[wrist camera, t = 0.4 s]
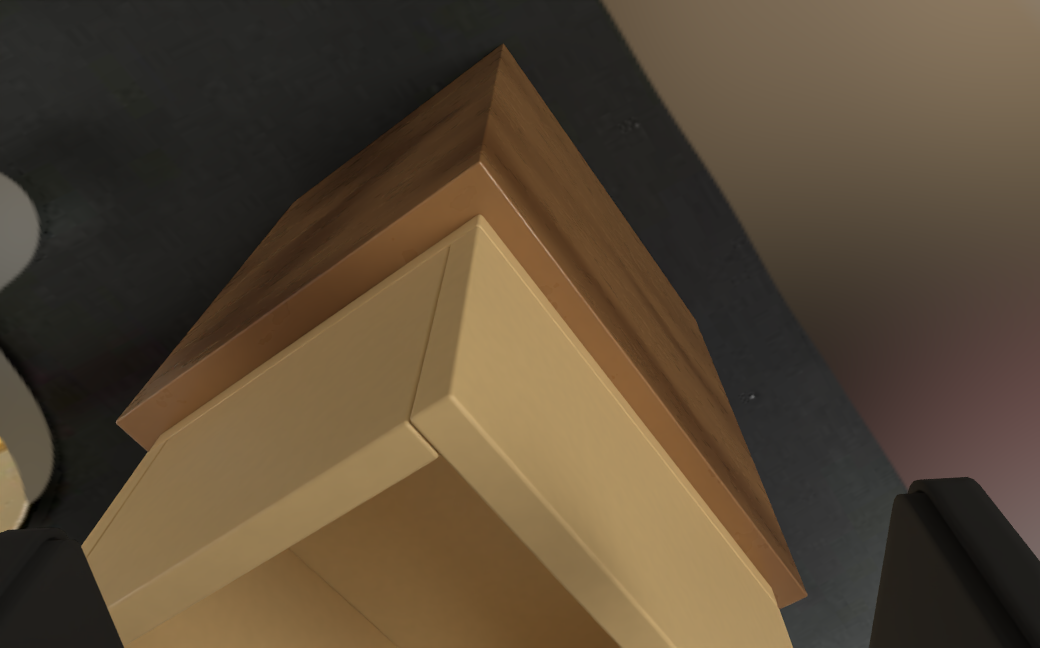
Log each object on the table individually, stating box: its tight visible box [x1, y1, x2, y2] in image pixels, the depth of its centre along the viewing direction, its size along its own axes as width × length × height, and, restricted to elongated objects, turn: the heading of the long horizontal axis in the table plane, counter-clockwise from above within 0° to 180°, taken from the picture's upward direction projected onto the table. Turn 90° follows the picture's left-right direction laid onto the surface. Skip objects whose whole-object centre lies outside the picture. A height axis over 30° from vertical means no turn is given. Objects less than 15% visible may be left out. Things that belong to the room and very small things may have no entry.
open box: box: [81, 215, 793, 648], centre depth 19 cm, size 11×14×8 cm
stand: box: [116, 44, 807, 609], centre depth 30 cm, size 12×16×18 cm
